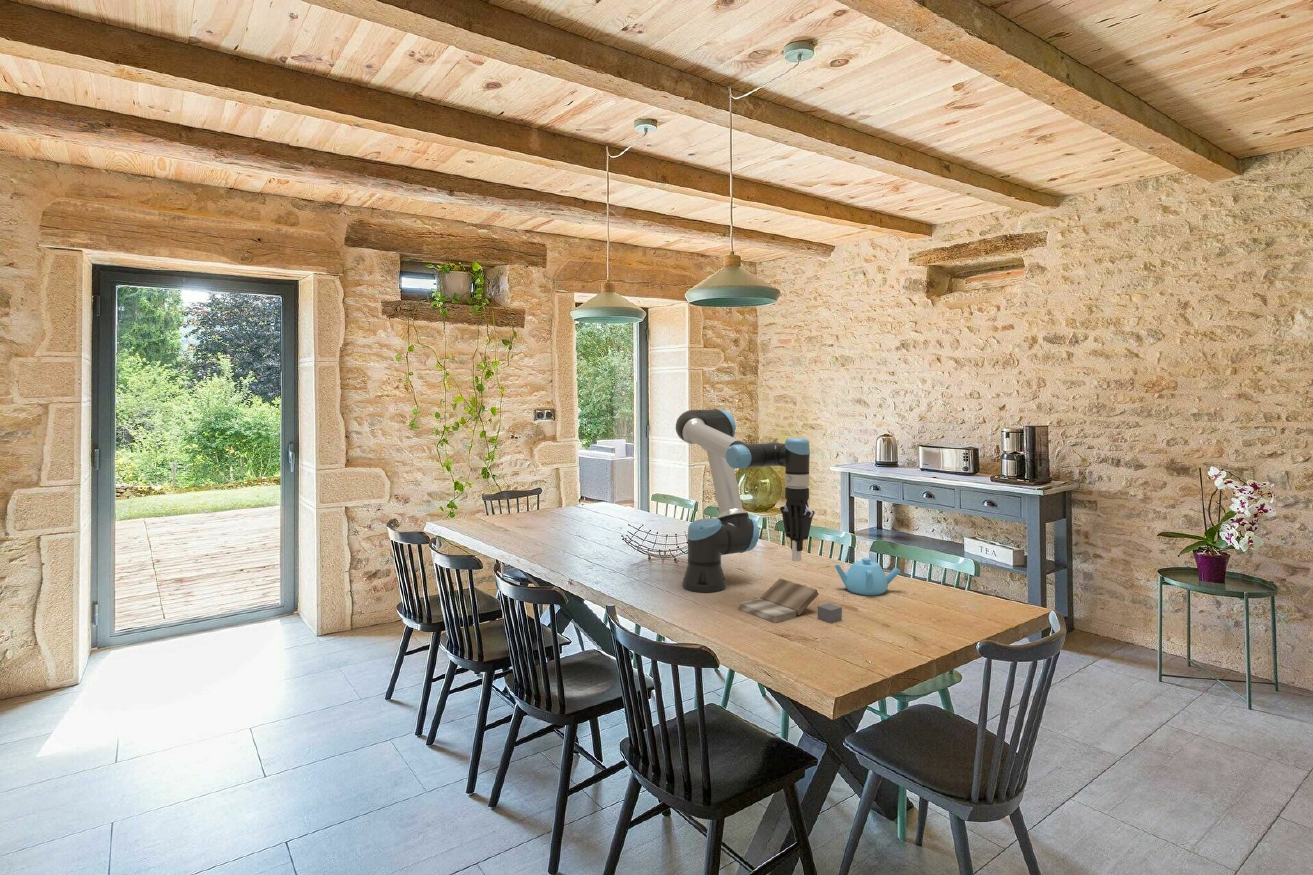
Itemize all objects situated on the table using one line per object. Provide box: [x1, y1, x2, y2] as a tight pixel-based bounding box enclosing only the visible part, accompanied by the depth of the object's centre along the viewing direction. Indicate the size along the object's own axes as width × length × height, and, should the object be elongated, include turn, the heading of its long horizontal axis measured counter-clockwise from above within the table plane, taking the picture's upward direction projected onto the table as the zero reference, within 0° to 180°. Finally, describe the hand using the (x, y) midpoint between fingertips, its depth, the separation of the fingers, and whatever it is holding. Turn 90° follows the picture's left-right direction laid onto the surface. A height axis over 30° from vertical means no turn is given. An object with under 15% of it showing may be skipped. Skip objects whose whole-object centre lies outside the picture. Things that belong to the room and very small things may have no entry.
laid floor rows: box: [738, 597, 797, 624], centre depth 217 cm, size 16×9×2 cm, turn 35°
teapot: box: [834, 557, 902, 596], centre depth 241 cm, size 15×17×11 cm
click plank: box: [759, 578, 819, 616], centre depth 222 cm, size 16×10×2 cm
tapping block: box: [817, 602, 843, 624], centre depth 211 cm, size 5×5×4 cm
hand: (796, 560), depth 223 cm, fingers closed
